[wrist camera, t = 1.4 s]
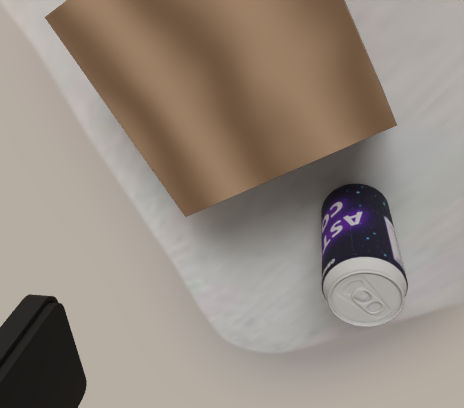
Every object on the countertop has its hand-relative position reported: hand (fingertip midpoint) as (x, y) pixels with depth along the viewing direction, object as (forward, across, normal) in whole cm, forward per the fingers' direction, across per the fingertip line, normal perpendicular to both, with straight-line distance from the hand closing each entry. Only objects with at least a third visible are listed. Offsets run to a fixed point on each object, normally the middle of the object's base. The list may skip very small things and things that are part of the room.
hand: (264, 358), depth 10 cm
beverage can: (+29, -5, +12) cm, 32 cm away
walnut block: (+28, +4, -2) cm, 29 cm away
